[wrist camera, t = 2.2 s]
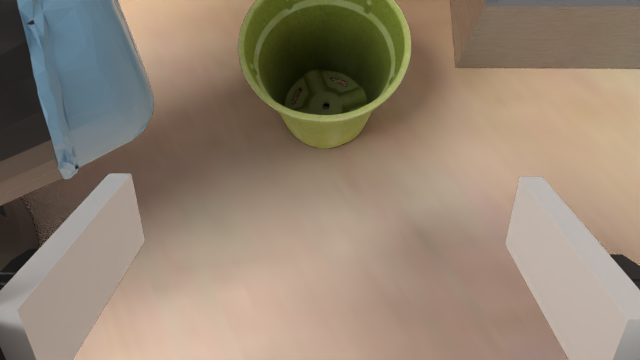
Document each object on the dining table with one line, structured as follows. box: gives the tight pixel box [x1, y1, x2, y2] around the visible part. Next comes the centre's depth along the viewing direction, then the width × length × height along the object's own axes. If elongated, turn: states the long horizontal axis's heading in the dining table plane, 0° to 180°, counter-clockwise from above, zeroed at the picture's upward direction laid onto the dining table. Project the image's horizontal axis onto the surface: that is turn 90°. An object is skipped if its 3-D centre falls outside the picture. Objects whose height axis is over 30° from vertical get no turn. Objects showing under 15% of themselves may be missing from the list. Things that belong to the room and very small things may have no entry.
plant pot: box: [238, 0, 411, 148], centre depth 30 cm, size 9×9×9 cm
